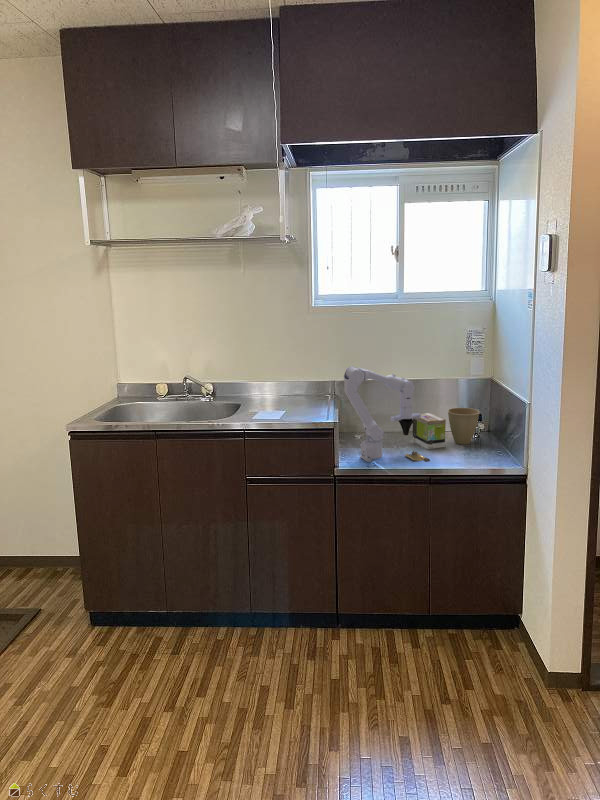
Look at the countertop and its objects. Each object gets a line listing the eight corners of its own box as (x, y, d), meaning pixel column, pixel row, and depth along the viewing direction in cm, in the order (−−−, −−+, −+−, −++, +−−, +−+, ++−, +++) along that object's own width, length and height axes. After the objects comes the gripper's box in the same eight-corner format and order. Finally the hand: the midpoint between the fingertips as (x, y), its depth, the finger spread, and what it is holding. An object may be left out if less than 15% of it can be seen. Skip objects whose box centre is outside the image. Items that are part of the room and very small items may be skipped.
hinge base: (425, 464, 269) (425, 458, 268) (411, 456, 280) (411, 451, 279) (443, 461, 272) (443, 456, 271) (429, 453, 283) (429, 448, 282)
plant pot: (477, 447, 289) (479, 415, 286) (445, 445, 294) (446, 414, 290) (478, 439, 303) (480, 408, 299) (448, 437, 307) (449, 406, 304)
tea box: (445, 449, 289) (446, 419, 286) (427, 451, 286) (427, 421, 283) (429, 440, 303) (430, 412, 300) (411, 443, 300) (412, 414, 297)
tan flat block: (413, 460, 269) (414, 456, 268) (404, 454, 276) (405, 451, 276) (426, 462, 271) (427, 458, 271) (417, 456, 279) (418, 452, 279)
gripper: (396, 409, 270) (395, 438, 273) (424, 406, 275) (424, 435, 278) (388, 406, 277) (388, 434, 280) (416, 403, 281) (416, 431, 285)
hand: (405, 434), depth 279 cm, fingers closed
